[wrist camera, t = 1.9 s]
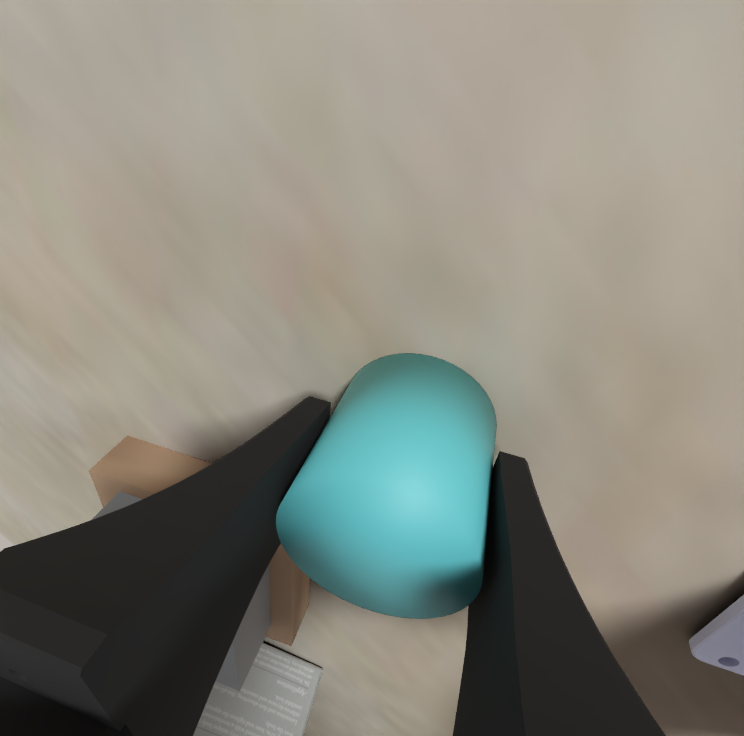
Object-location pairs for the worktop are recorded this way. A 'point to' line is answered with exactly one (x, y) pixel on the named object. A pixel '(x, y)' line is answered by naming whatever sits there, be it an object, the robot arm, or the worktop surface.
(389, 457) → the teal cylinder
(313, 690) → the skincare box
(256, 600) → the slate top slab
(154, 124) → the worktop surface
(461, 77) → the worktop surface
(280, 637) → the walnut base slab
